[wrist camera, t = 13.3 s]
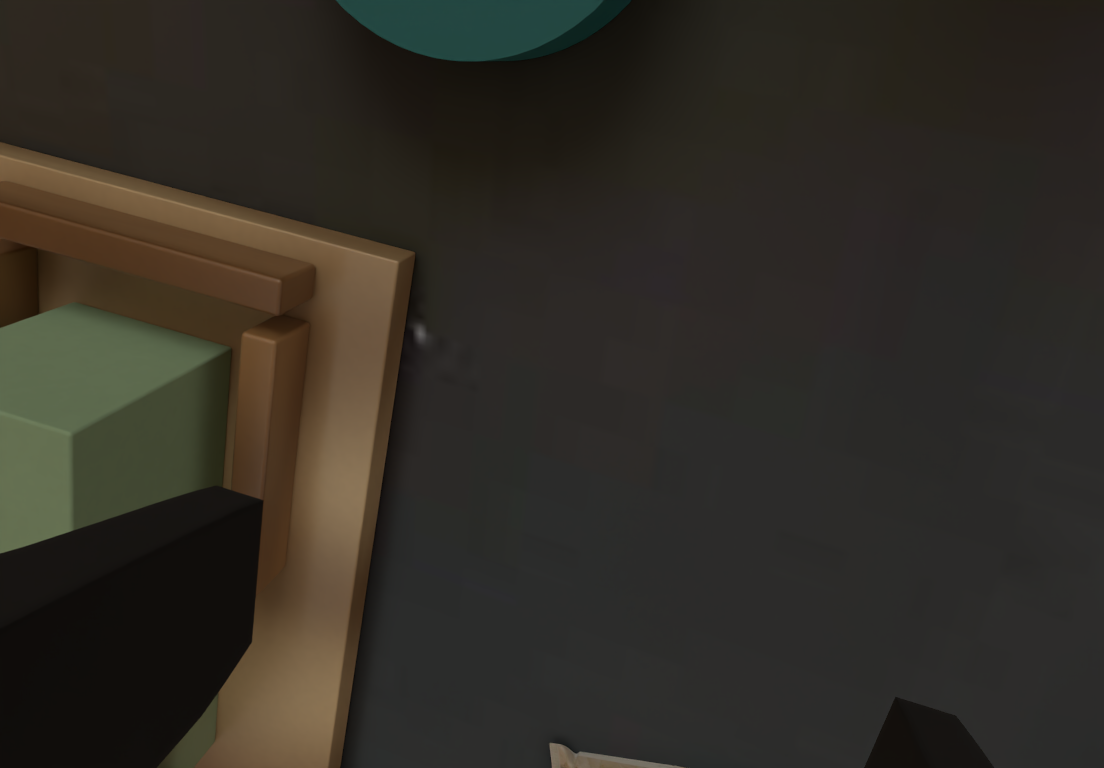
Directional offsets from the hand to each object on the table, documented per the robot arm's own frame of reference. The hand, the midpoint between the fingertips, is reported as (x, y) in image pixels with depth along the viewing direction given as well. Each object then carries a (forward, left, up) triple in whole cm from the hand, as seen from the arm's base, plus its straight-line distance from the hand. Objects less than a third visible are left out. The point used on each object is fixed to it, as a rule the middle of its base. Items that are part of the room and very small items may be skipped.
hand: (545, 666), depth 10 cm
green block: (+3, +11, -9) cm, 15 cm away
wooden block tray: (+1, +13, -10) cm, 16 cm away
